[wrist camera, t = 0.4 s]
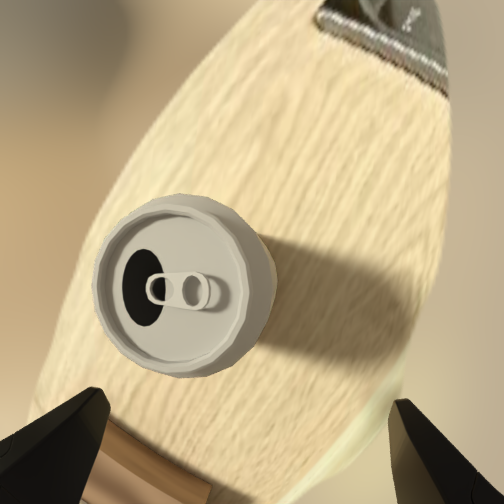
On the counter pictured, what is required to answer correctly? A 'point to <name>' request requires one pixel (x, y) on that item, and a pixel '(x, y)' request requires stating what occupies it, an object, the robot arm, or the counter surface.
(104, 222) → the counter surface
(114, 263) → the can
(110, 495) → the block
